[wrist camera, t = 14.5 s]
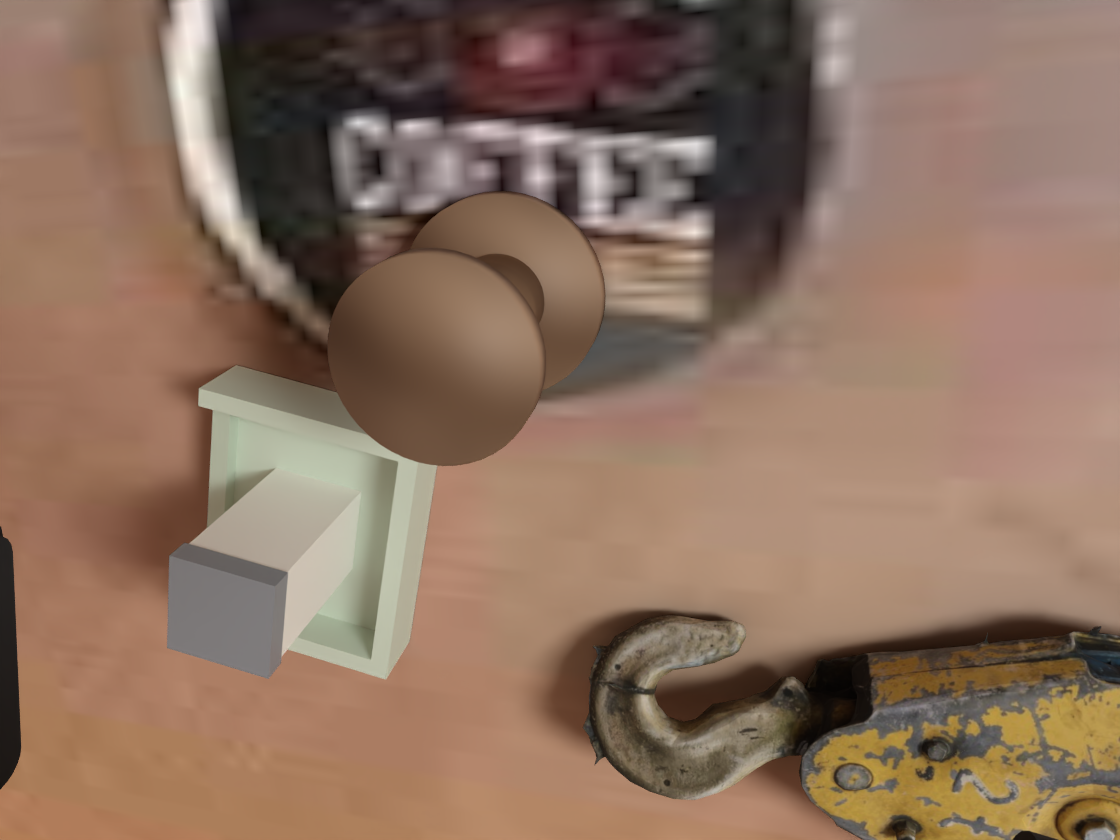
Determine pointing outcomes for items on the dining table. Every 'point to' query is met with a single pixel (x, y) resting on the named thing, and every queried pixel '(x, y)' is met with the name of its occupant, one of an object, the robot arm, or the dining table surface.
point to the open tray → (343, 459)
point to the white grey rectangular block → (261, 571)
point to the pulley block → (885, 732)
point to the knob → (466, 328)
